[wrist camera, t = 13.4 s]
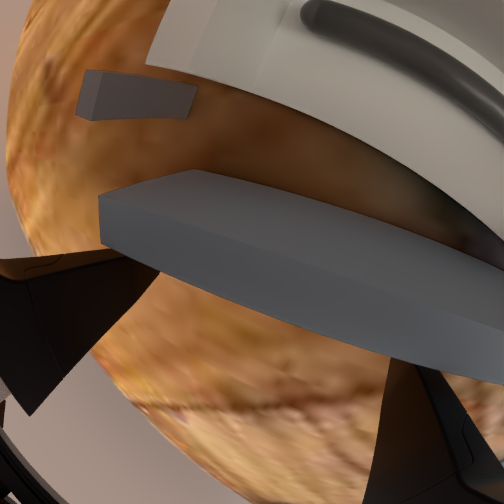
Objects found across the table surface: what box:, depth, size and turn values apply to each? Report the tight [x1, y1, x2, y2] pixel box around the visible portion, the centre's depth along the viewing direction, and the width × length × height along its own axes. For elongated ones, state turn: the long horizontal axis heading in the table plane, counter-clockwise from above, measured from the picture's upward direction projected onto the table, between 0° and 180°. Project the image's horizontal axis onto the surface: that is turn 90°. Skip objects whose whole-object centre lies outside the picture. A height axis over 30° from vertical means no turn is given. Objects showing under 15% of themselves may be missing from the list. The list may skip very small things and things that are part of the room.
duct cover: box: [98, 169, 504, 385], centre depth 7 cm, size 17×2×5 cm, turn 80°
